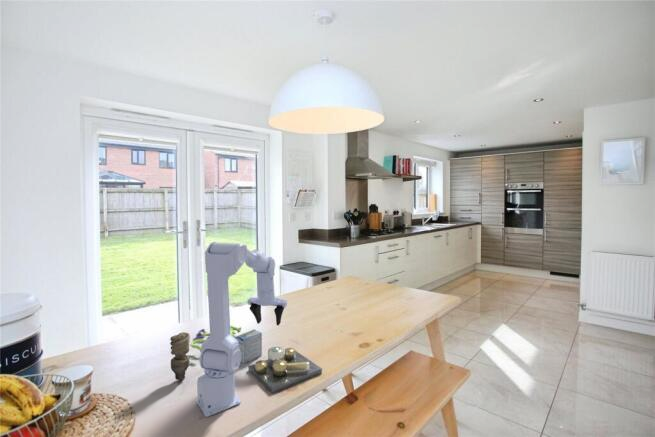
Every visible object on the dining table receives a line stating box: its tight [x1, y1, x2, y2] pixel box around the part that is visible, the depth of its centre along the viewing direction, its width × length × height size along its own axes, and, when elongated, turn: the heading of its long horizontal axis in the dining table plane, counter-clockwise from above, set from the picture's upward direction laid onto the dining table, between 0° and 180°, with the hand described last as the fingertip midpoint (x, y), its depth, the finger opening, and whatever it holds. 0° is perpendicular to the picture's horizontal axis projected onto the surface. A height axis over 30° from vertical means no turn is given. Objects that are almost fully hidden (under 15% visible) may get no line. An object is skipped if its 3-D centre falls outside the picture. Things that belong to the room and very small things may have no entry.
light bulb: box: [169, 331, 191, 382], centre depth 100 cm, size 6×6×15 cm
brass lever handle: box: [273, 360, 309, 376], centre depth 102 cm, size 11×4×3 cm, turn 98°
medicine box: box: [235, 329, 263, 364], centre depth 115 cm, size 8×4×9 cm, turn 141°
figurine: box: [190, 324, 242, 353], centre depth 127 cm, size 18×27×6 cm
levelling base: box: [248, 346, 323, 394], centre depth 105 cm, size 18×16×7 cm
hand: (268, 323), depth 119 cm, fingers open, 7 cm apart
